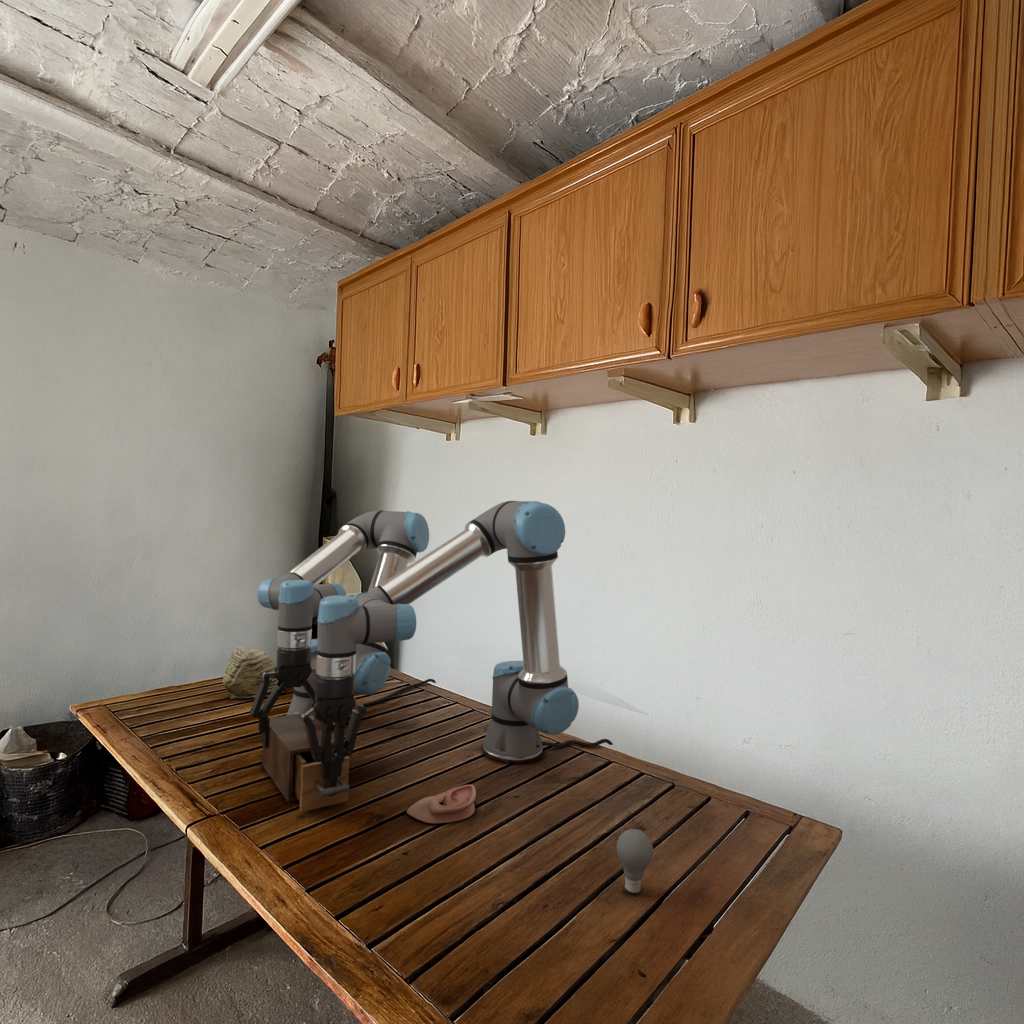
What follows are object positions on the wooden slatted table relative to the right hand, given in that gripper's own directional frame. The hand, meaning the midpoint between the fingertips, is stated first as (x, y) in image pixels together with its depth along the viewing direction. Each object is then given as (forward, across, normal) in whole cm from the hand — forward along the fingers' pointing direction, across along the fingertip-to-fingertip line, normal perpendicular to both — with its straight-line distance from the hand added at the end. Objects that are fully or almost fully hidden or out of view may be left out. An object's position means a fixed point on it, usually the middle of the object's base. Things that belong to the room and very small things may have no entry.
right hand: (330, 792), depth 126 cm
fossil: (+5, +5, +85) cm, 85 cm away
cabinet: (+5, 0, +20) cm, 21 cm away
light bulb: (+4, +35, -49) cm, 60 cm away
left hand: (-1, 0, +27) cm, 27 cm away
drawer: (+4, 0, +10) cm, 11 cm away
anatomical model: (+5, +20, -9) cm, 23 cm away
